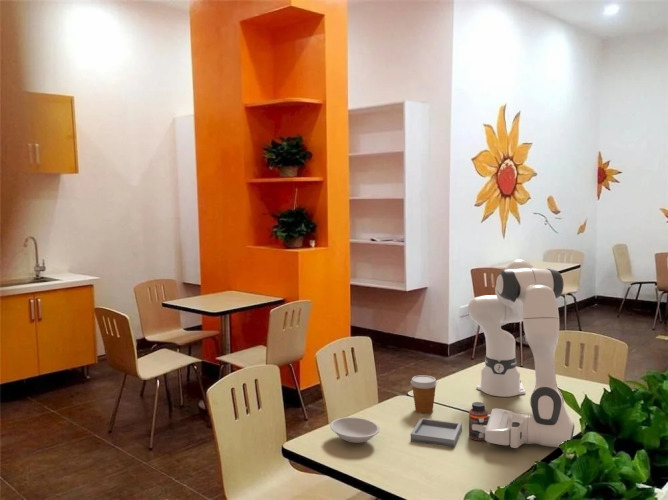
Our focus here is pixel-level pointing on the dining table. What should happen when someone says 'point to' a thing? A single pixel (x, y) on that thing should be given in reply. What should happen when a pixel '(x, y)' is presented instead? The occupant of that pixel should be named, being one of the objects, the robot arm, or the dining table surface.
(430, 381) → the disposable coffee cup
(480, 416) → the supplement bottle
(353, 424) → the dish
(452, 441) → the tray
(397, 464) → the dining table surface
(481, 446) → the dining table surface
